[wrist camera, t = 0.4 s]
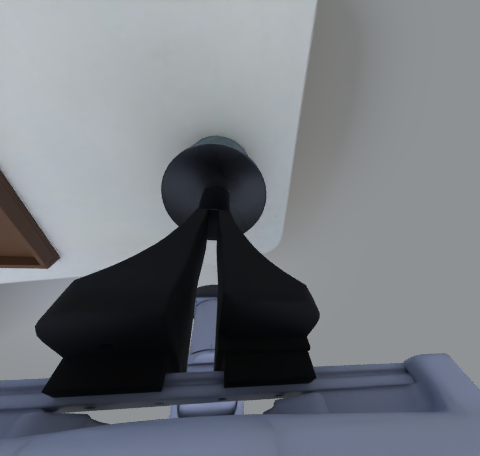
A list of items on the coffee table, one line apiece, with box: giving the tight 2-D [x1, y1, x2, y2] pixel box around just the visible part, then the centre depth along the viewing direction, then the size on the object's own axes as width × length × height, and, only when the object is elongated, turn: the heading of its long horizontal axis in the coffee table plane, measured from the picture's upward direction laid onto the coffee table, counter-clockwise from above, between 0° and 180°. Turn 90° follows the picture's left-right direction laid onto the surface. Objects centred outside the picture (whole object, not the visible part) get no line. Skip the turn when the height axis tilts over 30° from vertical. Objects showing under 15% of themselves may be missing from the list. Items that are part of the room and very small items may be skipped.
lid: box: [161, 143, 266, 240], centre depth 12 cm, size 8×8×4 cm
